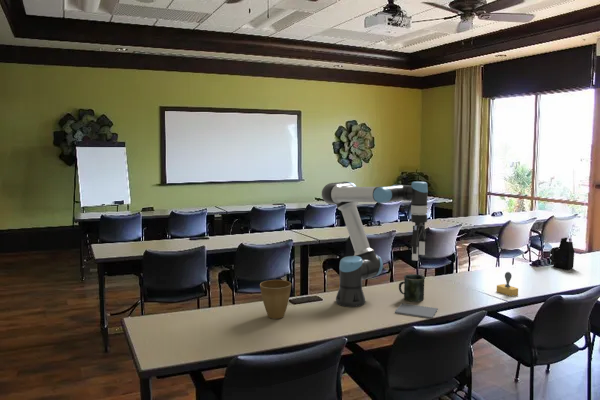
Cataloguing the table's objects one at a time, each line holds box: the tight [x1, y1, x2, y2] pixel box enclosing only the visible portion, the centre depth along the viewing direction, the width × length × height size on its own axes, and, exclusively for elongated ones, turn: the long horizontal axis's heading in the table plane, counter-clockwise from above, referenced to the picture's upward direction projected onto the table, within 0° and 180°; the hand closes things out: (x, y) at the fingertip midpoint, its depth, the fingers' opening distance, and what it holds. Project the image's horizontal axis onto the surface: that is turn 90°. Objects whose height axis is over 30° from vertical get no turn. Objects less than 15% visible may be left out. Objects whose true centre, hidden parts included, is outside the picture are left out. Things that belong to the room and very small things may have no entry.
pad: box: [394, 302, 439, 320], centre depth 247 cm, size 18×14×1 cm
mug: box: [398, 273, 426, 302], centre depth 265 cm, size 11×15×12 cm
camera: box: [549, 237, 575, 271], centre depth 332 cm, size 10×14×20 cm
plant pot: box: [259, 279, 292, 320], centre depth 239 cm, size 15×15×16 cm
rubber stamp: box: [496, 271, 519, 297], centre depth 276 cm, size 10×6×12 cm, turn 28°
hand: (418, 257), depth 244 cm, fingers open, 13 cm apart
